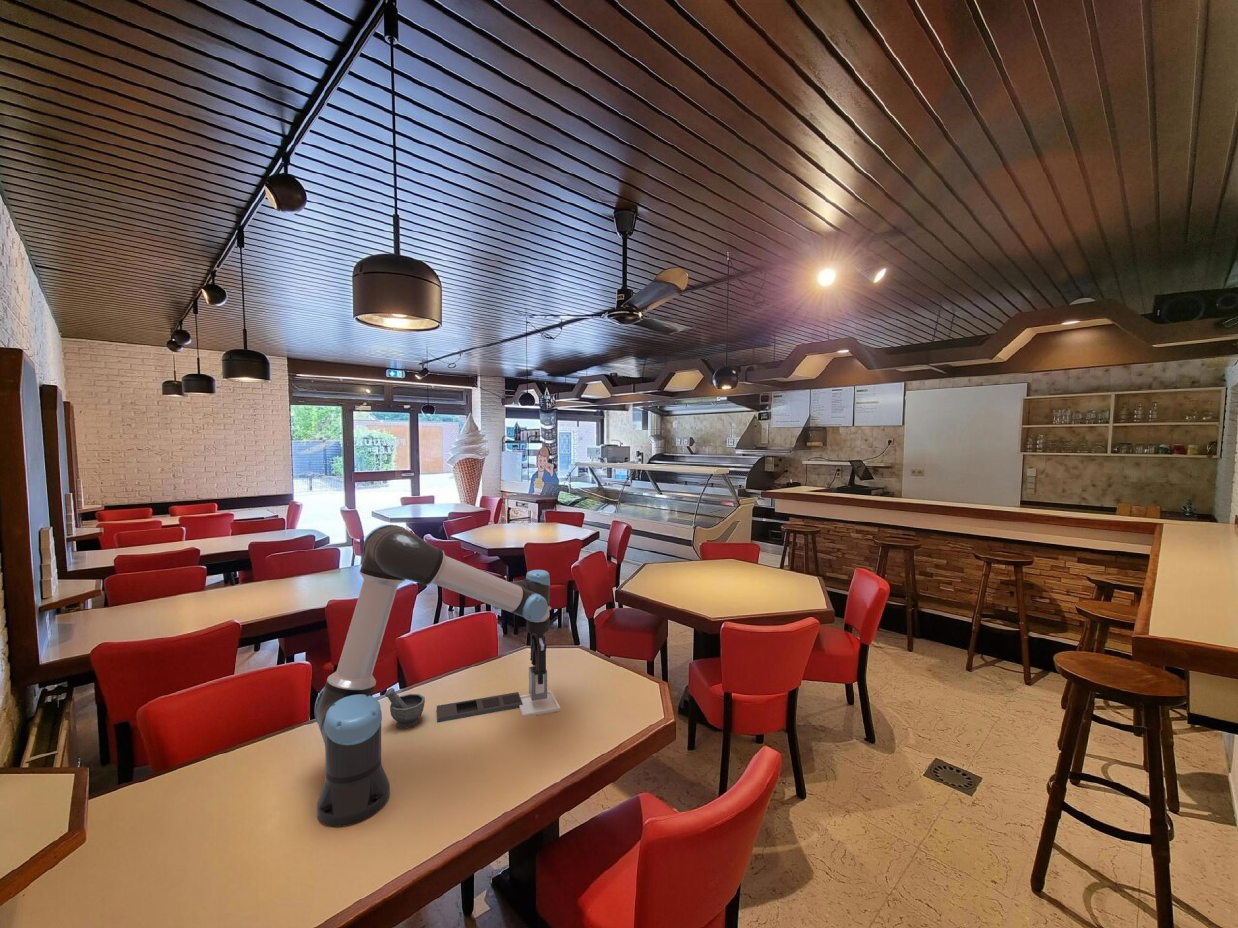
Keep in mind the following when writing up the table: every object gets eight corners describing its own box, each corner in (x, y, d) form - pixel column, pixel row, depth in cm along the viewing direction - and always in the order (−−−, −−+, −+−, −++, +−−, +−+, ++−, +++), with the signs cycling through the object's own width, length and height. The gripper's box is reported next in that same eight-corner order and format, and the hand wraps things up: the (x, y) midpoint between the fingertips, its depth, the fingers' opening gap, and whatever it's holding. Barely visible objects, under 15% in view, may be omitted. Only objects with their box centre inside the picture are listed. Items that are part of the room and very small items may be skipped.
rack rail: (522, 708, 161) (522, 703, 161) (437, 723, 151) (437, 718, 151) (518, 696, 168) (518, 691, 168) (436, 710, 159) (436, 705, 159)
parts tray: (560, 711, 159) (560, 707, 159) (522, 718, 155) (522, 714, 155) (551, 693, 170) (551, 690, 170) (516, 699, 166) (516, 696, 166)
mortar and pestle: (421, 712, 158) (421, 674, 158) (428, 726, 150) (428, 687, 150) (382, 722, 152) (382, 683, 151) (387, 737, 144) (387, 696, 144)
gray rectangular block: (547, 698, 161) (547, 671, 161) (531, 701, 159) (531, 673, 159) (543, 691, 166) (543, 664, 166) (528, 693, 164) (528, 666, 164)
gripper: (556, 626, 155) (555, 699, 155) (543, 608, 172) (543, 674, 172) (532, 629, 152) (532, 704, 153) (521, 611, 169) (521, 678, 170)
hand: (537, 688), depth 163 cm, fingers closed on gray rectangular block, 5 cm apart
